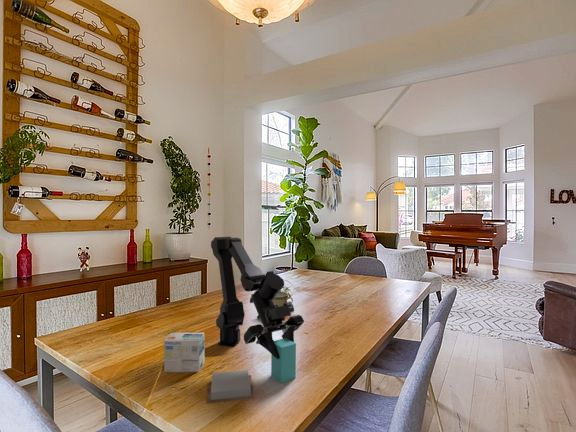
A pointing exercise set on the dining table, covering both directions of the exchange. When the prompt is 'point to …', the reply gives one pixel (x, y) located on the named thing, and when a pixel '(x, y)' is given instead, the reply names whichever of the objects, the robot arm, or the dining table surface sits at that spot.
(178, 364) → the light bulb box
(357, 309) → the dining table surface
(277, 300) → the olive mug
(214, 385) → the grey slab
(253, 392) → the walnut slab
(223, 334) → the robot arm
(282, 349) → the teal block
